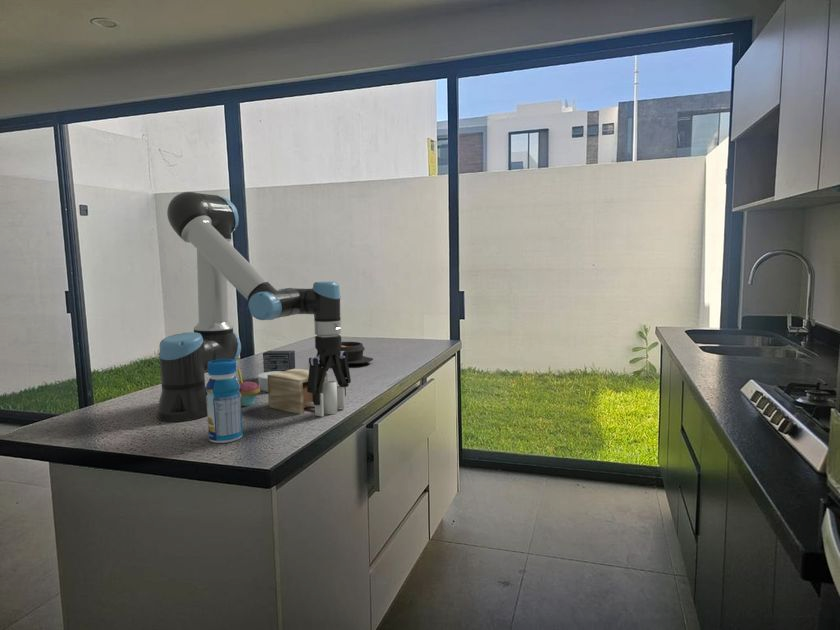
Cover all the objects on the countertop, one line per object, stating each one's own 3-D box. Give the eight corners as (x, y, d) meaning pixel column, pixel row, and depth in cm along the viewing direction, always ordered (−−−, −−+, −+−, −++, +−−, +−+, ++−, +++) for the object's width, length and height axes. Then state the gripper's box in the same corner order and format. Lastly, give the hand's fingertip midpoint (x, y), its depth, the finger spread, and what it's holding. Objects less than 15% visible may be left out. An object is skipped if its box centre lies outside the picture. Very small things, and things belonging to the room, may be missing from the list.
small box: (296, 377, 209) (295, 349, 208) (291, 380, 203) (289, 353, 202) (269, 376, 210) (268, 349, 209) (263, 380, 204) (262, 352, 203)
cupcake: (231, 408, 166) (229, 369, 165) (232, 401, 174) (230, 364, 173) (260, 406, 168) (258, 368, 167) (260, 399, 177) (259, 362, 175)
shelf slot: (300, 414, 159) (299, 380, 158) (268, 407, 167) (267, 375, 166) (328, 405, 169) (327, 373, 167) (296, 398, 177) (295, 368, 175)
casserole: (381, 361, 237) (381, 342, 236) (357, 370, 221) (357, 349, 220) (334, 357, 248) (333, 339, 248) (308, 365, 232) (307, 345, 231)
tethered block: (328, 416, 157) (327, 385, 156) (284, 407, 167) (283, 378, 166) (342, 411, 162) (341, 381, 161) (299, 402, 172) (298, 374, 171)
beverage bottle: (230, 445, 133) (226, 364, 131) (200, 442, 136) (196, 363, 134) (250, 434, 142) (246, 358, 139) (221, 432, 144) (217, 357, 142)
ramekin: (279, 394, 183) (278, 378, 183) (251, 392, 187) (250, 376, 186) (297, 386, 194) (296, 371, 193) (270, 384, 198) (269, 370, 197)
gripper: (310, 341, 147) (313, 423, 149) (362, 331, 164) (363, 405, 167) (291, 339, 151) (294, 418, 154) (343, 329, 168) (345, 401, 171)
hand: (330, 411), depth 160 cm, fingers open, 8 cm apart
